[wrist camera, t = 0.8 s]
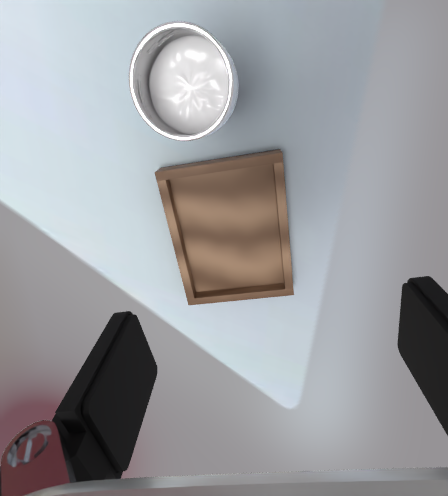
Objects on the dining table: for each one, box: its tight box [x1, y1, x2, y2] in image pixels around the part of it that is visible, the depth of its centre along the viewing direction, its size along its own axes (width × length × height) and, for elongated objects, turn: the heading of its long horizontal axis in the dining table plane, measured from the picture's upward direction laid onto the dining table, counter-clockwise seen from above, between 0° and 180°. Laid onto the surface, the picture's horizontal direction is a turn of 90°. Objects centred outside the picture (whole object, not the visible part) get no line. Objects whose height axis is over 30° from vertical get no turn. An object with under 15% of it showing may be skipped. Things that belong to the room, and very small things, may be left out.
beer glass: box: [129, 21, 239, 141], centre depth 26 cm, size 7×7×15 cm
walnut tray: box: [155, 149, 294, 305], centre depth 38 cm, size 18×14×2 cm
